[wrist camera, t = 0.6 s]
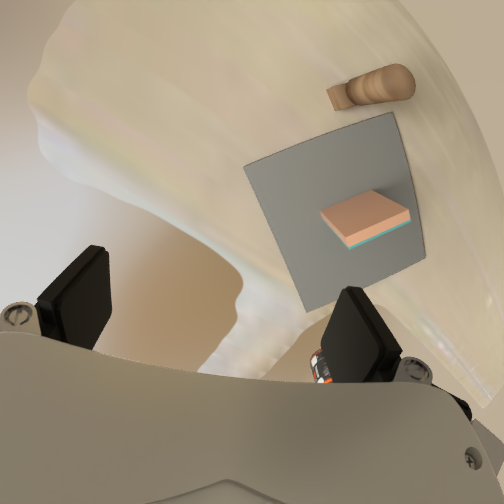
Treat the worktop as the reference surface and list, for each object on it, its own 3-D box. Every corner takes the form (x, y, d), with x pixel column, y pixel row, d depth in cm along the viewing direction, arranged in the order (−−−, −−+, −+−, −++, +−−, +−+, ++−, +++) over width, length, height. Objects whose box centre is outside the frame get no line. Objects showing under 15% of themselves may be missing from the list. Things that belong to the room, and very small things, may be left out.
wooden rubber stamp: (363, 77, 31) (416, 59, 19) (373, 101, 32) (428, 93, 20) (325, 87, 31) (367, 69, 20) (335, 112, 33) (381, 106, 21)
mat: (390, 112, 33) (392, 112, 32) (423, 256, 42) (425, 258, 41) (243, 167, 35) (243, 167, 35) (305, 310, 45) (306, 312, 44)
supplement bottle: (302, 358, 49) (315, 406, 39) (329, 340, 48) (348, 387, 37) (319, 372, 51) (333, 418, 40) (345, 355, 49) (364, 400, 39)
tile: (371, 189, 37) (408, 209, 27) (373, 199, 37) (411, 221, 28) (319, 210, 38) (345, 237, 28) (323, 220, 38) (349, 249, 29)
